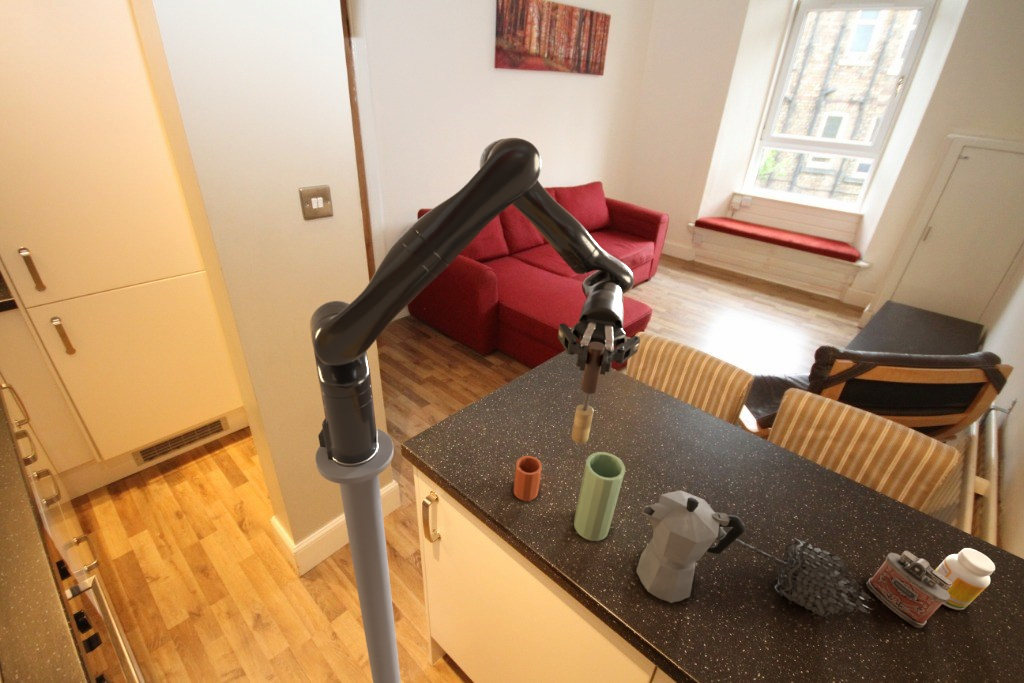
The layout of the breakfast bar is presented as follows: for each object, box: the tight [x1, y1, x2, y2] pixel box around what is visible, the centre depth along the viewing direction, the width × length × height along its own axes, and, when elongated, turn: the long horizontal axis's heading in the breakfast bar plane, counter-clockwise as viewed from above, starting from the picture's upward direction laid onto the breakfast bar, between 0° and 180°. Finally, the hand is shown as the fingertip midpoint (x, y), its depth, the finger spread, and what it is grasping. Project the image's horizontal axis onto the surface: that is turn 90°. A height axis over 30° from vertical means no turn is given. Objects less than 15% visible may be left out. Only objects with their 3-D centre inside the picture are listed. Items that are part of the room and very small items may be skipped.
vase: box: [573, 451, 626, 542], centre depth 78 cm, size 6×6×15 cm
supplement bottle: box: [935, 547, 996, 611], centre depth 72 cm, size 5×5×10 cm
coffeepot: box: [635, 489, 746, 604], centre depth 69 cm, size 15×9×18 cm, turn 85°
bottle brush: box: [571, 342, 605, 444], centre depth 70 cm, size 3×3×18 cm
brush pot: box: [513, 455, 543, 502], centre depth 85 cm, size 5×5×7 cm
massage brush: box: [715, 527, 875, 620], centre depth 72 cm, size 9×22×9 cm, turn 58°
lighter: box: [866, 550, 952, 629], centre depth 70 cm, size 8×3×10 cm, turn 27°
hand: (593, 367), depth 64 cm, fingers closed on bottle brush, 2 cm apart
